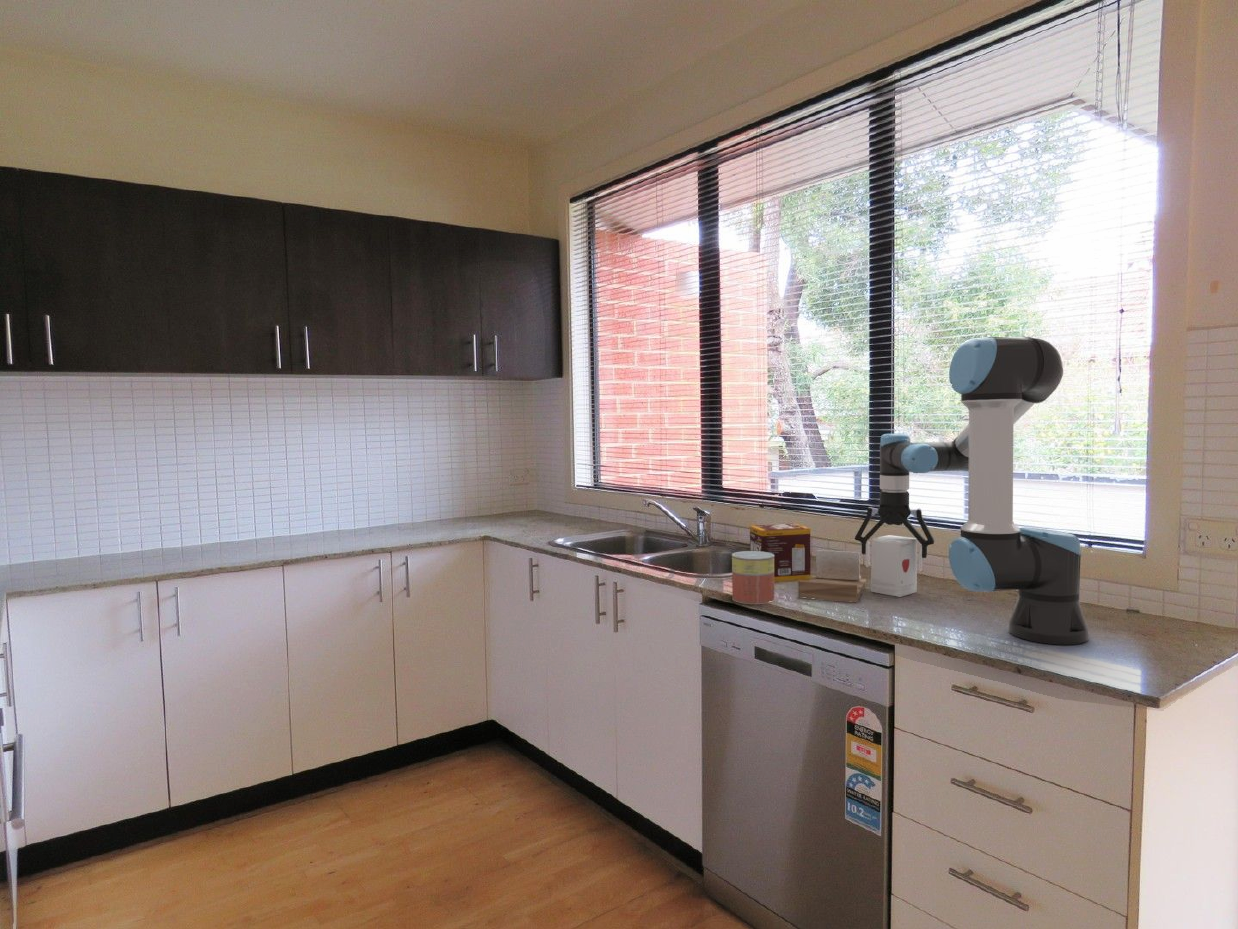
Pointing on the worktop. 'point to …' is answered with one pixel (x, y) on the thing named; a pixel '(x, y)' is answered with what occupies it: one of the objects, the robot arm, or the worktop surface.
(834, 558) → the bookend
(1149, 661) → the worktop surface
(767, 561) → the canned food
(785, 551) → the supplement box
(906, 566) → the supplement box
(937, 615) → the worktop surface
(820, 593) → the shelf board
